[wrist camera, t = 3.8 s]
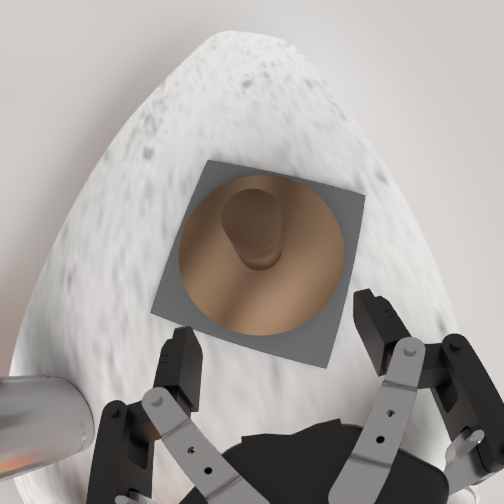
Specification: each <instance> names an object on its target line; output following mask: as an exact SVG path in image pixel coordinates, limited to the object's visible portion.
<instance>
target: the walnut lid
mask: <svg viewBox="0 0 504 504" xmlns="http://www.w3.org/2000/svg"><path fill="white" fill-rule="evenodd" d="M343 266H344V241H343V236H342V233H341V229H340V226H339V224H338V222H337V219H336V217H335V216H334V214H333V212H332V211H331V209H330V208H329V207H328V205H327V204H326V203H325V202H324V201H323V200H322V199H321V198H320V197H319V196H318V195H317V194H316V193H315V192H313V191H312V190H311V189H309V188H307V187H306V186H304V185H302V184H301V183H298V182H296V181H293V180H291V179H287V178H284V177H280V176H273V175H253V176H247V177H242V178H239V179H236V180H233V181H230V182H228V183H226V184H224V185H222V186H220V187H218V188H217V189H215V190H214V191H212V192H211V193H210V194H209V195H207V196H206V197H205V198H204V199H203V200H202V201H201V202H200V203H199V204H198V205H197V207H196V208H195V209H194V211H193V212H192V214H191V215H190V217H189V219H188V220H187V223H186V225H185V227H184V229H183V233H182V236H181V240H180V246H179V268H180V273H181V277H182V281H183V283H184V286H185V289H186V291H187V292H188V294H189V296H190V298H191V299H192V301H193V302H194V303H195V305H196V306H197V307H198V308H199V309H200V310H201V311H202V312H203V313H204V314H205V315H206V316H207V317H208V318H210V319H211V320H212V321H213V322H215V323H217V324H219V325H220V326H222V327H224V328H226V329H229V330H232V331H234V332H238V333H242V334H247V335H257V336H259V335H273V334H278V333H283V332H286V331H289V330H292V329H294V328H296V327H298V326H300V325H302V324H304V323H305V322H307V321H308V320H310V319H311V318H313V317H314V316H315V315H316V314H317V313H318V312H320V311H321V310H322V309H323V307H324V306H325V305H326V304H327V303H328V301H329V300H330V299H331V297H332V295H333V294H334V292H335V290H336V288H337V286H338V284H339V281H340V278H341V275H342V271H343Z"/></svg>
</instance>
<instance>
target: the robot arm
mask: <svg viewBox="0 0 504 504" xmlns="http://www.w3.org/2000/svg"><path fill="white" fill-rule="evenodd" d="M353 318H354V323H355V326H356V329H357V331H358V333H359V335H360V337H361V339H362V341H363V343H364V346H365V348H366V350H367V352H368V354H369V357H370V359H371V361H372V363H373V366H374V368H375V370H376V372H377V375H378V377H379V376H382V375H386V376H385V379H384V382H383V383H382V385H381V387H380V390H379V393H378V395H377V398H376V400H375V403H374V405H373V408H372V410H371V412H370V415H369V417H368V419H367V422H366V424H365V426H364V427H361V426H358V425H353V424H341V421H340V418H339V419H335V420H331V421H327V422H323V423H319V424H315V425H313V426H311V427H308V428H306V429H304V430H302V431H300V432H297V433H295V434H292V435H280V434H259V435H251V436H242V437H241V440H242V443H239V444H237V445H235V446H233V447H231V448H229V449H228V450H226V451H225V452H224V453H223V454H221V453H220V452H219V451H218V450H217V449H216V448H215V447H214V446H213V445H212V444H211V443H210V441H209V440H208V439H207V438H206V437H205V436H204V435H203V433H202V432H201V431H200V430H199V429H198V428H197V426H196V425H195V424H194V423H193V422H192V420H191V419H190V416H191V412H198V411H199V397H200V384H201V372H202V361H203V354H202V349H201V346H200V344H199V342H198V340H197V338H196V336H195V334H194V332H193V330H192V328H191V327H190V326H186V327H179V328H175V330H174V333H173V338H172V339H167V341H166V342H165V344H164V345H163V347H162V349H161V353H160V358H159V364H158V367H157V371H156V376H155V380H154V385H153V388H152V389H150V390H149V391H147V392H146V393H145V395H144V396H143V399H142V400H141V401H139V402H136V403H132V404H129V405H126V404H125V403H124V402H122V401H119V400H114V401H111V402H110V403H108V404H107V405H106V406H105V407H104V409H103V411H102V415H101V420H100V424H99V429H98V434H97V439H96V444H95V449H94V454H93V460H92V466H91V472H90V479H89V486H88V494H87V503H86V504H157V503H156V502H155V501H154V500H153V499H151V496H152V472H153V456H154V442H155V440H159V439H161V440H162V442H163V443H164V445H165V446H166V448H167V449H168V451H169V452H170V453H171V455H172V456H173V458H174V459H175V460H176V462H177V463H178V464H179V466H180V467H181V468H182V470H183V471H184V472H185V474H186V475H187V476H188V477H189V479H190V480H191V481H192V482H193V484H194V485H195V486H194V488H193V489H192V490H191V491H190V492H189V493H188V494H187V495H186V497H185V498H184V499H183V500H182V501H181V502H180V503H179V504H447V501H448V497H449V496H450V495H452V494H454V493H456V492H458V491H460V490H462V489H464V488H466V487H468V486H469V485H477V484H479V483H481V482H483V481H484V480H486V479H488V478H489V477H491V476H492V475H494V474H496V473H497V472H499V471H500V470H502V469H503V468H504V403H503V401H502V399H501V397H500V395H499V393H498V391H497V390H496V388H495V386H494V384H493V382H492V380H491V379H490V377H489V375H488V373H487V372H486V370H485V368H484V366H483V365H482V363H481V361H480V359H479V358H478V356H477V355H476V353H475V351H474V350H473V348H472V346H471V345H470V343H469V342H468V341H467V339H466V338H465V337H464V336H462V335H460V334H449V335H447V336H446V337H445V338H444V339H443V341H442V343H436V344H423V342H422V341H421V340H419V339H417V338H414V337H412V336H411V335H410V333H409V332H408V330H407V329H406V327H405V325H404V324H403V322H402V321H401V319H400V318H399V316H397V313H396V311H395V310H394V309H393V307H392V305H391V304H390V302H389V301H388V300H386V299H385V298H383V297H382V296H378V297H375V296H374V295H373V293H372V292H371V290H370V289H369V288H368V289H364V290H360V291H356V292H354V295H353ZM423 388H430V390H431V392H432V394H433V397H434V399H435V401H436V404H437V406H438V409H439V411H440V413H441V416H442V418H443V421H444V424H445V426H446V429H447V431H448V434H449V437H450V440H451V442H452V443H451V444H450V445H449V446H448V448H447V450H446V454H445V459H446V466H445V469H444V471H443V472H442V471H441V470H440V469H438V468H437V467H435V466H433V465H431V464H429V463H427V462H425V461H423V460H421V459H419V458H417V457H416V456H414V455H412V454H410V453H408V452H406V451H405V450H403V449H401V448H399V446H400V443H401V440H402V438H403V435H404V432H405V429H406V426H407V423H408V420H409V417H410V414H411V411H412V408H413V404H414V401H415V397H416V394H417V389H423ZM93 437H94V424H93V419H92V415H91V412H90V410H89V407H88V405H87V403H86V401H85V400H84V398H83V396H82V395H81V394H80V392H79V391H78V390H77V389H76V388H75V387H74V386H73V385H72V384H71V383H70V382H68V381H67V380H65V379H62V378H59V377H50V378H47V377H46V376H45V375H34V376H14V377H0V482H1V481H5V480H8V479H11V478H14V477H17V476H20V475H23V474H26V473H28V472H31V471H34V470H36V469H39V468H42V467H44V466H47V465H49V464H52V463H54V462H57V461H59V460H62V459H64V458H66V457H69V456H71V455H73V454H75V453H78V452H80V451H82V450H84V449H86V448H87V447H89V446H90V444H91V443H92V440H93Z"/></svg>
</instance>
